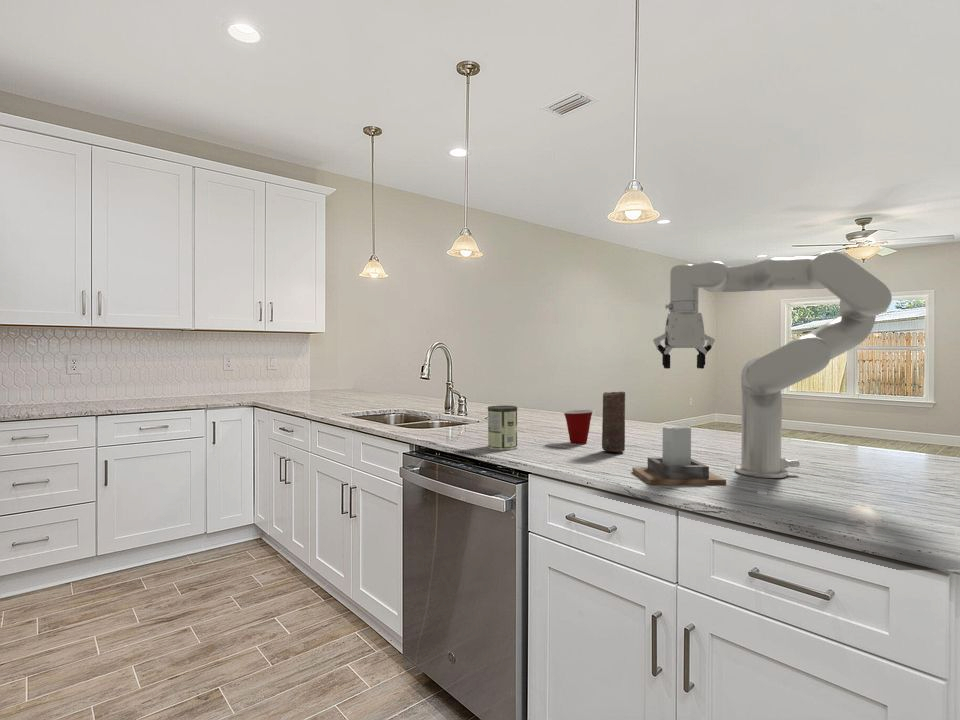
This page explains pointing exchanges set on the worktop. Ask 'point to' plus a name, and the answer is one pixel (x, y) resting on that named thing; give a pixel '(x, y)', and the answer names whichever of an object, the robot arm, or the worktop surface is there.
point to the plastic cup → (578, 425)
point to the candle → (613, 422)
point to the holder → (677, 474)
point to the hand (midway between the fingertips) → (683, 368)
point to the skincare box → (676, 446)
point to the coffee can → (502, 427)
